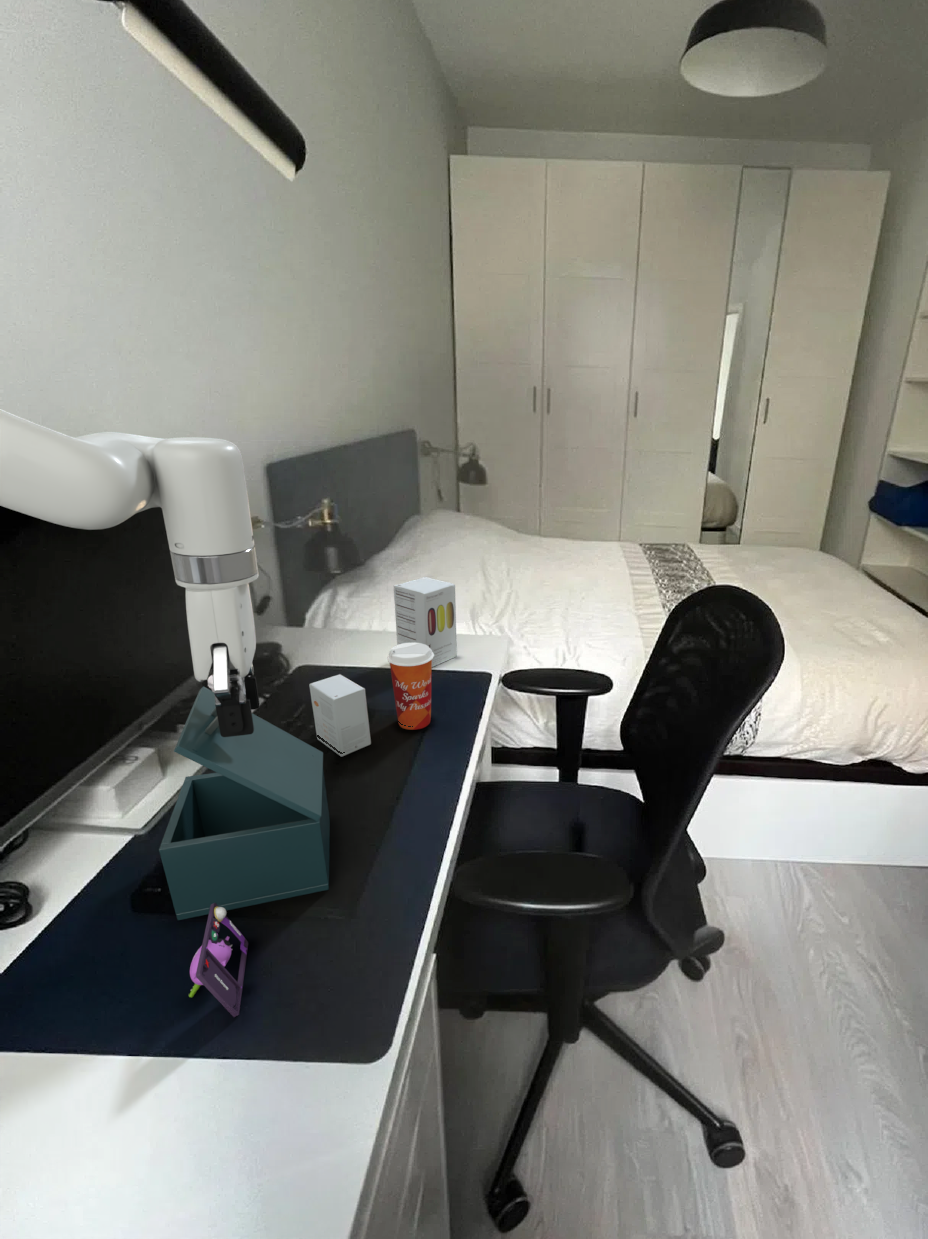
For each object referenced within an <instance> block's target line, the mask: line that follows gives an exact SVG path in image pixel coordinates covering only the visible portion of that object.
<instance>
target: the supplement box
mask: <svg viewBox="0 0 928 1239" xmlns="http://www.w3.org/2000/svg"><path fill="white" fill-rule="evenodd" d="M393 599H394V613H395V615H394V616H395V629H396V630H395V631H396V645H399V644H403V643H422V644H425V645H427V646H428V647H429V648H430V649H431V650H432V652H433V653H434V657H433V659H432V668H434V667H436V666H439V665H441V664H443V663H445V662H447V661H449V660H451V659H454V658H456V657H457V656H458V650H457V648H458V646H457V644H458V642H457V605H456V604H457V603H456V584H454V583H452V582H449V581H448V582H447V581H444V580H441V579H436V578H432V577H427V576H422V577H419V578H417V579H414V580H413V579H412V580H409V581H406V582H402V583H399V584H394V585H393Z"/></svg>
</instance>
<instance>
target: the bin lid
mask: <svg viewBox="0 0 928 1239" xmlns="http://www.w3.org/2000/svg"><path fill="white" fill-rule="evenodd" d="M230 684H231V687H236V689H238V685H237V683H230ZM252 719H253V725H254V732H253V733H252V734H249V735H240V736H231V737H222V736H221V734H220V729H219V723H218V717H217V712H216V706H215V695H214V692H213V691H212V689H210V688H207V687H205V686H204V685H203V686H202V687H201V688H200V689H199V691H198V692H197V695H196V698H195V700H194V702H193V704H192V707H191V709H190V712H189V714H188V716H187V718H186V721H185V724H184V726H183V728H182V730H181V733H180V735H179V738H178V740H177V742H176V745H175V747H174V749H173V752H174V753H176V754H178V755H179V756H182V757H184V758H186V759H188V760H190V761H193V762H195V763H197V764H198V765H201V766H203V767H205V768H207V769H208V770H211V771H213V772H214V773H219V774H221V775H223V776H225V777H227V778H229V779H231V780H233V781H235V782H237V783H239V784H242V785H244V786H246V787H248V788H250V789H252V790H254V791H256V792H258V793H260V794H262V795H264V796H266V797H268V798H270V799H272V800H274V801H276V802H278V803H280V804H283V805H285V806H287V807H289V808H291V809H293V810H295V811H297V812H299V813H301V814H303V815H305V816H307V817H309V818H311V819H313V820H315V821H318V819H319V818H320V817H321V807H322V772H324V752H323V751H322V750H320V749H317V748H316V747H314V746H312V745H311V744H309V743H307V742H305V741H303V740H301V739H300V738H297V736H294V735H292V734H290V733H289V732H287V731H285V730H284V729H282V728H280V727H278V726H276V725H274V724H272V723H271V722H269V721H267V720H265V719H263V718H262V717H259V715H258V716H257V715H256V714H254V713H252Z"/></svg>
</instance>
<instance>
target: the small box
mask: <svg viewBox="0 0 928 1239" xmlns="http://www.w3.org/2000/svg"><path fill="white" fill-rule="evenodd" d="M308 687H309V692H310V700H311V706H312V712H313V718H314V726H315V733H316V738H317V741H319V742H320V743H321V744H323V745H325V747H327V748H329V749H330V750H332V751H333V752H334V753H336V755H338V756H340V757H344V756H347V755H349V754H352V753H354V752H356V751H358V750H361V749H363V748H365V747H368V746H370V745H372V739H371V732H370V731H371V730H370V722H369V713H368V704H367V702H368V701H367V694H366V688H365V687H363V686H361V685H359V684H357V683H356V682H354V681H352V680H350V679H349V678H347V677H346V676H344V675H342V674H341V673H339V674H336V675H333V676H330V677H327V678H324V679H323V678H322V679H320V680H318V681H314V682H311V683H309V686H308ZM317 735H319V736H320V737H321V738H323V739H324V740H325V741H327V742H328V743H329V744H331V745H332V746H333V747H335V748H336V749H337V750H338V751H340V752H342V753H343V752H345V753H343V754H340V753H338V752H337V751H336V750H334V749H333V748H332V747H330V746H329V745H328V744H326V743H325V742H323V741H322V740H321V739H319V738H318V737H317Z"/></svg>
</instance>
